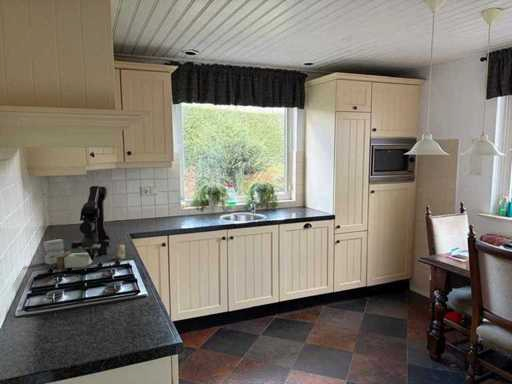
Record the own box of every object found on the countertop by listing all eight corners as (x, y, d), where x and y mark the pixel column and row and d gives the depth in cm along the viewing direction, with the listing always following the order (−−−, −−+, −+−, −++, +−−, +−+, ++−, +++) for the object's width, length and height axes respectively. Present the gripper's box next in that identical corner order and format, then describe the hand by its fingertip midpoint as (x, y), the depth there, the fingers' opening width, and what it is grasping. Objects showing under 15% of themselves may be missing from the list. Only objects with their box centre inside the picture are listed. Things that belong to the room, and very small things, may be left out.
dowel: (119, 259, 210) (118, 245, 209) (126, 259, 210) (125, 244, 209) (117, 261, 206) (116, 246, 205) (124, 260, 206) (123, 246, 206)
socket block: (72, 262, 200) (72, 253, 199) (92, 261, 200) (91, 252, 200) (64, 267, 190) (64, 257, 189) (85, 266, 190) (84, 257, 190)
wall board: (68, 264, 201) (67, 251, 201) (130, 261, 203) (130, 248, 203) (57, 271, 188) (56, 257, 188) (124, 268, 190) (123, 254, 190)
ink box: (61, 259, 212) (59, 238, 211) (65, 261, 209) (63, 239, 208) (44, 263, 206) (42, 241, 205) (48, 264, 202) (46, 242, 202)
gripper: (65, 234, 186) (67, 265, 187) (105, 232, 187) (106, 263, 188) (74, 230, 197) (76, 260, 198) (111, 228, 198) (113, 258, 199)
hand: (92, 260), depth 196 cm, fingers closed
